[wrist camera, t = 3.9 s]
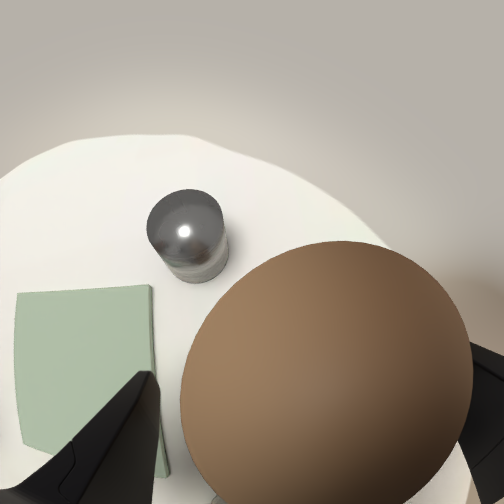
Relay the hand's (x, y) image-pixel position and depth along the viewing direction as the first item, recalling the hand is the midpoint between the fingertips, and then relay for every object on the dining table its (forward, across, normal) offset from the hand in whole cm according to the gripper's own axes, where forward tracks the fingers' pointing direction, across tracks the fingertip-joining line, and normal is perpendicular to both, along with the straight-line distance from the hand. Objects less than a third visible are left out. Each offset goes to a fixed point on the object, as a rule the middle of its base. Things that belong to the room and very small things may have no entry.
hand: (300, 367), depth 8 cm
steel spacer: (+11, +4, 0) cm, 11 cm away
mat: (+5, +13, +6) cm, 15 cm away
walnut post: (+5, 0, +6) cm, 8 cm away
